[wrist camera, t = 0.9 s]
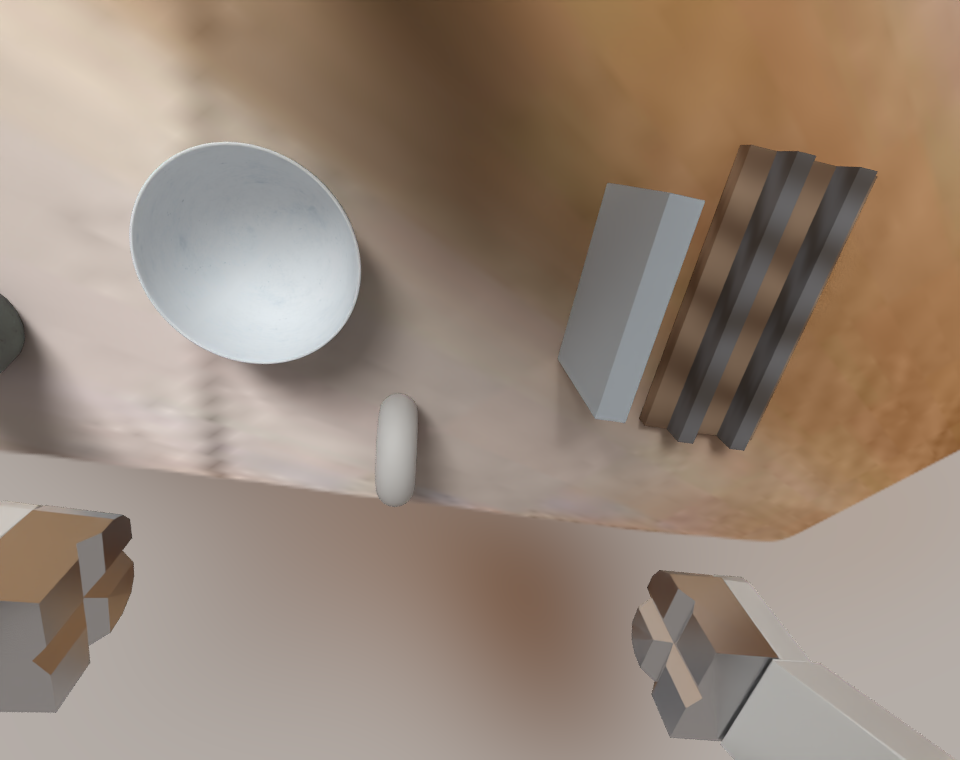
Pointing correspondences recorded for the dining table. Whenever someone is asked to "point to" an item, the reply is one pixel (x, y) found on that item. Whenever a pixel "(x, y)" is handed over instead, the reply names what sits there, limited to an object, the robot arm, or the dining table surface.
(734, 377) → the track base
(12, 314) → the bottle
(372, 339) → the dining table surface
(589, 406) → the door panel
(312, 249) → the chinaware
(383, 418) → the donut
